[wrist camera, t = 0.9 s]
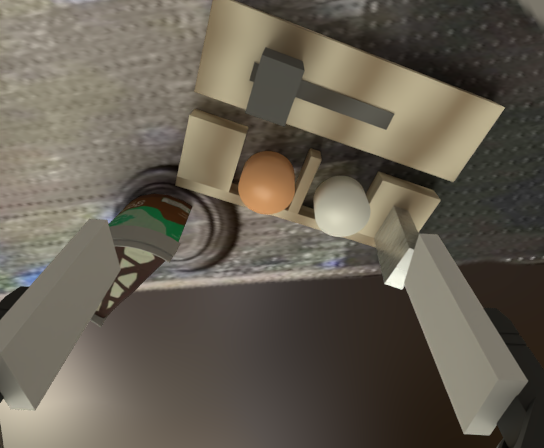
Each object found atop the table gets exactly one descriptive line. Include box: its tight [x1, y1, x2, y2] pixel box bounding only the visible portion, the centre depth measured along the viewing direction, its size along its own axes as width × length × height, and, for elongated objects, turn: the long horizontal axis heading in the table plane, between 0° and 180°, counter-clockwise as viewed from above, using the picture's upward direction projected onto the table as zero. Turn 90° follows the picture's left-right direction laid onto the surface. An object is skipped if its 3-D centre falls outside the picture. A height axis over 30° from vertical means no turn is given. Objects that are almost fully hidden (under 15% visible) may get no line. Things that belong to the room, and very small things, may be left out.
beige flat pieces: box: [175, 0, 505, 247], centre depth 32 cm, size 24×16×2 cm, turn 71°
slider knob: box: [245, 47, 305, 127], centre depth 26 cm, size 3×4×4 cm
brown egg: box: [238, 151, 295, 214], centre depth 31 cm, size 5×5×3 cm
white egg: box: [313, 176, 371, 237], centre depth 32 cm, size 5×5×3 cm
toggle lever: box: [374, 206, 419, 289], centre depth 32 cm, size 2×4×7 cm, turn 161°
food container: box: [90, 193, 192, 327], centre depth 34 cm, size 12×6×10 cm, turn 136°
